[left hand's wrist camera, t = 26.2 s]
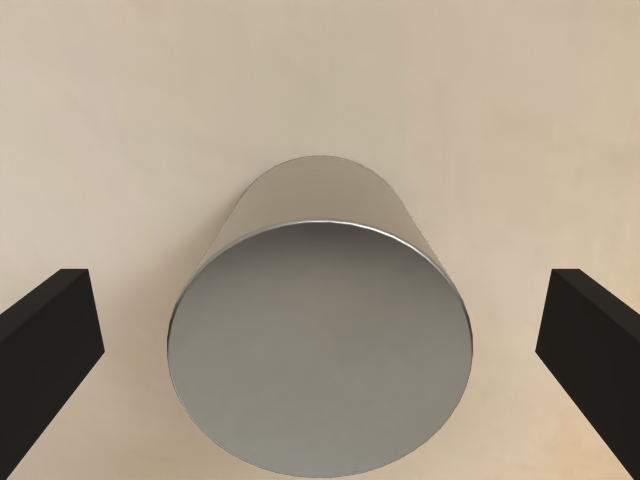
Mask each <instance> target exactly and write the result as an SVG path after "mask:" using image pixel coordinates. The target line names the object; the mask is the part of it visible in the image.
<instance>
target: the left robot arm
mask: <svg viewBox="0 0 640 480" xmlns="http://www.w3.org/2000/svg"><path fill="white" fill-rule="evenodd" d="M104 352H105V350H104V345H103V340H102V335H101V330H100V325H99V321H98V316H97V311H96V306H95V301H94V296H93V291H92V286H91V281H90V276H89V271H88V269H60V270H59V271H57V272H56V273H55V274H53V275H52V276H51V277H49V278H48V279H47V280H45V281H44V282H43V283H42V284H40V285H39V286H38V287H36V288H35V289H34V290H32V291H31V292H30V293H28V294H27V295H26V296H24V297H23V298H22V299H20V300H19V301H18V302H16V303H15V304H14V305H12V306H11V307H10V308H8V309H7V310H6V311H4V312H3V313H2V314H0V480H6V479H7V478H8V477H9V475H10V474H11V473H12V471H13V470H14V469H15V468H16V466H17V465H18V464H19V462H20V461H21V460H22V458H23V457H24V456H25V455H26V453H27V452H28V451H29V449H30V448H31V447H32V445H33V444H34V443H35V442H36V440H37V439H38V438H39V436H40V435H41V434H42V433H43V431H44V430H45V429H46V427H47V426H48V425H49V423H50V422H51V421H52V420H53V418H54V417H55V416H56V414H57V413H58V412H59V411H60V409H61V408H62V407H63V405H64V404H65V403H66V401H67V400H68V399H69V398H70V396H71V395H72V394H73V392H74V391H75V390H76V389H77V387H78V386H79V385H80V383H81V382H82V381H83V379H84V378H85V377H86V376H87V374H88V373H89V372H90V370H91V369H92V368H93V366H94V365H95V364H96V363H97V361H98V360H99V359H100V357H101V356H102V355H103V354H104ZM535 352H536V354H537V355H538V356H539V357H540V359H541V360H542V361H543V363H544V364H545V365H546V366H547V368H548V369H549V370H550V372H551V373H552V374H553V376H554V377H555V378H556V379H557V381H558V382H559V383H560V385H561V386H562V387H563V389H564V390H565V391H566V392H567V394H568V395H569V396H570V398H571V399H572V400H573V401H574V403H575V404H576V405H577V407H578V408H579V409H580V411H581V412H582V413H583V414H584V416H585V417H586V418H587V420H588V421H589V422H590V423H591V425H592V426H593V427H594V429H595V430H596V431H597V433H598V434H599V435H600V436H601V438H602V439H603V440H604V442H605V443H606V444H607V445H608V447H609V448H610V449H611V451H612V452H613V453H614V455H615V456H616V457H617V458H618V460H619V461H620V462H621V464H622V465H623V466H624V468H625V469H626V470H627V471H628V473H629V474H630V475H631V477H632V478H633V479H634V480H640V314H638V313H637V312H636V311H634V310H633V309H632V308H630V307H629V306H628V305H626V304H625V303H624V302H622V301H621V300H620V299H618V298H617V297H616V296H614V295H613V294H612V293H610V292H609V291H608V290H606V289H605V288H604V287H602V286H601V285H600V284H598V283H597V282H596V281H595V280H593V279H592V278H591V277H589V276H588V275H587V274H585V273H584V272H583V271H581V270H580V269H552V271H551V276H550V281H549V286H548V291H547V296H546V301H545V306H544V311H543V316H542V321H541V325H540V330H539V335H538V340H537V345H536V350H535Z"/></svg>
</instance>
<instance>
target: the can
mask: <svg viewBox="0 0 640 480" xmlns="http://www.w3.org/2000/svg"><path fill="white" fill-rule="evenodd" d="M472 357H473V335H472V329H471V324H470V319H469V316H468V313H467V310H466V307H465V304H464V302H463V300H462V298H461V296H460V294H459V292H458V290H457V288H456V287H455V285H454V283H453V282H452V280H451V279H450V277H449V275H448V274H447V272H446V271H445V269H444V268H443V266H442V264H441V263H440V261H439V260H438V258H437V257H436V255H435V254H434V252H433V250H432V249H431V247H430V246H429V244H428V243H427V241H426V239H425V238H424V236H423V235H422V233H421V232H420V230H419V229H418V227H417V225H416V224H415V222H414V221H413V219H412V218H411V216H410V214H409V213H408V211H407V210H406V208H405V207H404V205H403V204H402V202H401V200H400V199H399V197H398V196H397V195H396V193H395V192H394V191H393V189H392V188H391V187H390V186H389V185H388V184H387V183H386V182H385V181H384V180H383V179H382V178H381V177H379V176H378V175H377V174H376V173H374V172H373V171H371V170H369V169H368V168H366V167H364V166H362V165H360V164H358V163H355V162H353V161H350V160H346V159H342V158H338V157H331V156H309V157H302V158H297V159H294V160H290V161H287V162H284V163H282V164H280V165H278V166H275V167H274V168H272V169H270V170H269V171H267V172H265V173H264V174H263V175H262V176H260V177H259V178H258V179H257V180H255V181H254V182H253V184H252V185H251V186H250V187H249V188H248V189H247V190H246V192H245V193H244V194H243V196H242V197H241V199H240V200H239V202H238V203H237V205H236V206H235V208H234V210H233V211H232V213H231V214H230V216H229V217H228V219H227V221H226V222H225V224H224V225H223V227H222V228H221V230H220V231H219V233H218V235H217V236H216V238H215V239H214V241H213V242H212V244H211V246H210V247H209V249H208V250H207V252H206V253H205V255H204V257H203V258H202V260H201V261H200V263H199V264H198V266H197V268H196V269H195V271H194V272H193V274H192V275H191V277H190V279H189V280H188V282H187V283H186V285H185V286H184V288H183V290H182V292H181V294H180V296H179V298H178V300H177V302H176V304H175V306H174V310H173V313H172V316H171V319H170V323H169V329H168V336H167V359H168V365H169V371H170V376H171V379H172V382H173V385H174V388H175V391H176V393H177V395H178V397H179V399H180V401H181V403H182V405H183V407H184V408H185V410H186V411H187V413H188V414H189V416H190V417H191V419H192V420H193V421H194V422H195V424H196V425H197V426H198V427H199V428H200V429H201V430H202V432H204V433H205V434H206V435H207V436H208V437H209V438H210V439H211V440H213V441H214V442H215V443H216V444H217V445H219V446H220V447H222V448H223V449H225V450H226V451H227V452H229V453H230V454H232V455H234V456H236V457H238V458H240V459H242V460H243V461H245V462H248V463H250V464H253V465H255V466H257V467H260V468H263V469H266V470H270V471H273V472H276V473H281V474H286V475H291V476H298V477H310V478H332V477H341V476H349V475H354V474H359V473H363V472H367V471H370V470H374V469H377V468H380V467H383V466H385V465H387V464H390V463H392V462H394V461H396V460H399V459H400V458H402V457H404V456H406V455H407V454H409V453H411V452H413V451H414V450H415V449H417V448H418V447H420V446H421V445H422V444H424V443H425V442H426V441H428V440H429V439H430V438H431V437H432V436H433V435H434V434H435V433H436V432H437V431H438V430H439V429H440V428H441V427H442V426H443V425H444V423H445V422H446V421H447V420H448V418H449V417H450V416H451V414H452V413H453V411H454V410H455V408H456V406H457V405H458V403H459V402H460V399H461V397H462V395H463V393H464V390H465V388H466V385H467V382H468V378H469V375H470V371H471V365H472Z"/></svg>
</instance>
